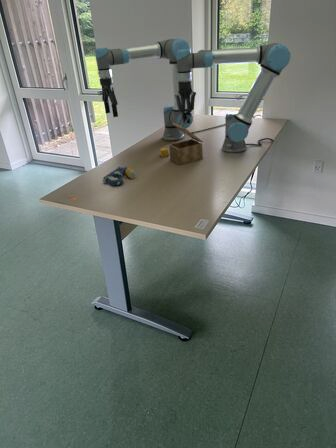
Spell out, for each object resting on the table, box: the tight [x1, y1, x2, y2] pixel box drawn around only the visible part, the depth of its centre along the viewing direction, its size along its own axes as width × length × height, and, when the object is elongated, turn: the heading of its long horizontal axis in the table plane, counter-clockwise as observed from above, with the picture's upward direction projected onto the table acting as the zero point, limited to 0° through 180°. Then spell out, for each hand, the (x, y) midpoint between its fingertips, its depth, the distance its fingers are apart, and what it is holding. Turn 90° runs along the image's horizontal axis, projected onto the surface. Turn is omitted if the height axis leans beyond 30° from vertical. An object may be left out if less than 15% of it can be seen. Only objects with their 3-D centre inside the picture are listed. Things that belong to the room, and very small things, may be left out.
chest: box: [168, 138, 204, 166], centre depth 207 cm, size 17×11×10 cm
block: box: [159, 147, 169, 158], centre depth 216 cm, size 4×4×4 cm
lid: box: [172, 115, 203, 144], centre depth 201 cm, size 18×11×9 cm
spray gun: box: [102, 165, 136, 187], centre depth 189 cm, size 21×4×15 cm
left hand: (111, 114), depth 206 cm, fingers open, 13 cm apart
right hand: (186, 123), depth 198 cm, fingers closed on lid, 2 cm apart
